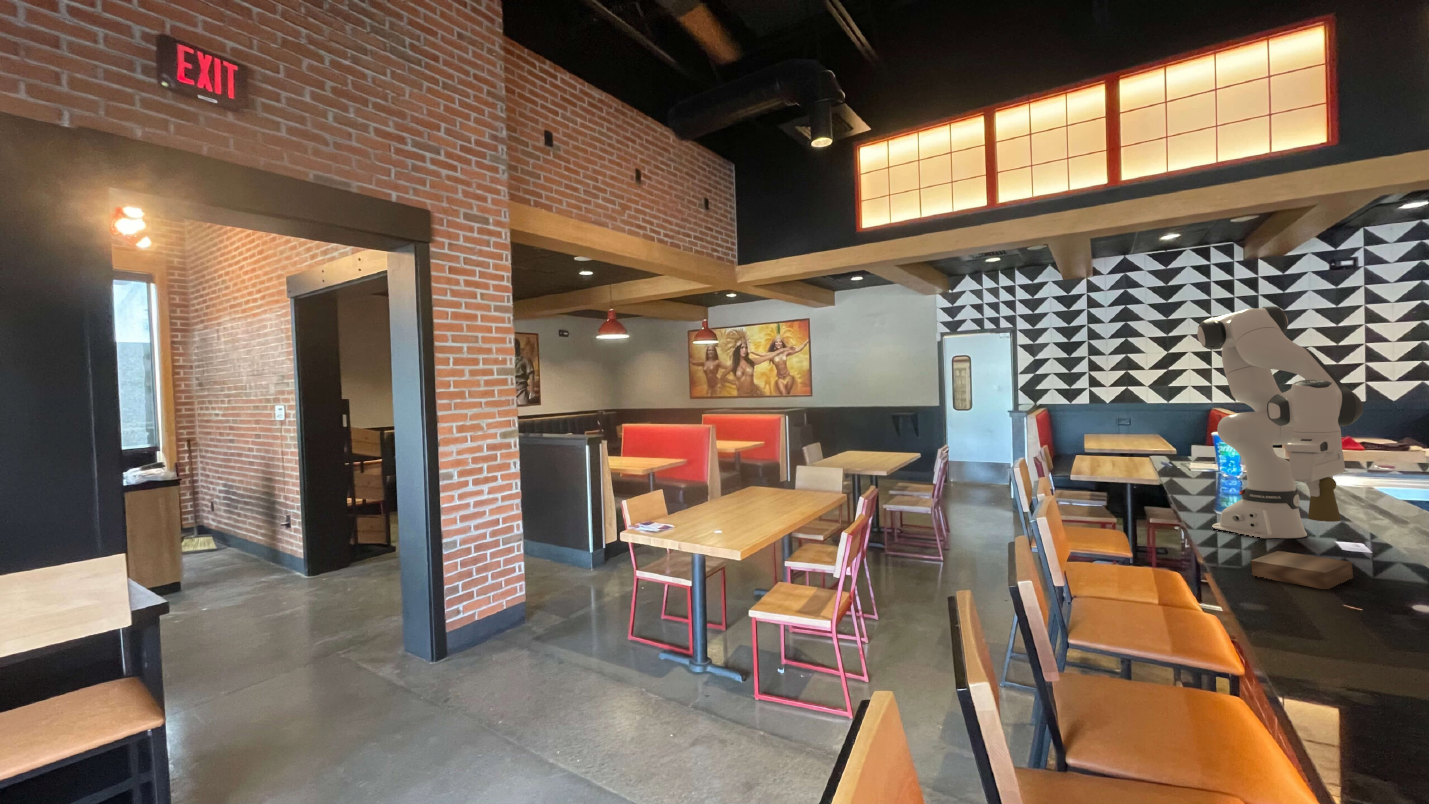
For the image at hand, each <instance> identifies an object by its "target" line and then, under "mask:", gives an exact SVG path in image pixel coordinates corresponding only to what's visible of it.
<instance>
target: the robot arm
mask: <svg viewBox="0 0 1429 804" xmlns="http://www.w3.org/2000/svg"><path fill="white" fill-rule="evenodd" d="M1288 324H1289V320H1288V317H1287V314H1286V313H1285V311H1284V310H1283V309H1282V308H1280V307H1278V306H1275V305H1274V306H1271V305H1270V306H1262V307H1260V308H1247V309H1243V310H1239V311H1238V310H1237V311H1236V312H1231V313H1227V314H1224V315H1220V316H1216V317H1210V318H1208V319H1205V320H1203V321H1201V322H1200V324H1199V325H1198V327H1197V339H1198V341H1199V343H1200V344H1201V345H1202V347H1203V348H1205V349H1206V350H1210V351H1211V350H1221V361H1222V367H1223V371H1224V375H1225V378H1226V381H1227V384H1228V388H1229V390H1230V394H1231V396H1232V397H1233V399H1235V400H1236V401H1237V402H1240V403H1243V404H1245V405H1247V406H1248V407H1250V408H1252V409H1253V411H1248V412H1247V411H1245V412H1238V413H1234V414H1229V415H1226V416H1223V417H1222V418H1221V419H1220V421H1219V422H1218V424H1217V428H1216V429H1217V430H1216V431H1217V435H1218V437H1219V438H1220V440H1221V441H1222V442H1223V443H1224V444H1226V445H1228V446H1230V447H1231V448H1232V449H1234V450H1235V451H1236V452H1237V453H1238V455H1239V456H1240V457H1241V459H1242V461H1243V464H1244V466H1245V471H1246V479H1247V487H1246V488H1244V489H1241V490H1239V491H1238V492H1239V493H1238V495H1239V496H1240V495H1241V499H1240V500H1238V501H1236V502H1235V503H1233V504H1231V505H1229V506H1227V507H1225V508H1224V509H1223V510H1222V511H1221V515H1220V520H1219V522H1216V523H1213V524H1212V525H1211V528H1212V527H1213V528H1215V529H1220V530H1226V531H1231V532H1237V533H1239V534H1238V535H1240V534H1244V535H1243V536H1246V535H1249V536H1248V537H1252V536H1254V537H1253V538H1257V537H1260V538H1259V539H1300V538H1304V537H1307V536H1308V533H1307V532H1306V530H1305V527H1304V525H1303V521H1302V519H1301V513H1300V510H1299V508H1300V503H1301V502H1300V495H1299V490H1298V489H1297V486H1296V485H1297V484H1296V482H1298V483H1299V482H1302V483H1306V486H1307V488H1308V490H1309V491H1308V492H1309V497H1310V496H1315V497H1318V496H1321V489H1320V488H1319V480H1320V479H1323V478H1327V477H1329V478H1332V479H1334V476H1335V475H1339V474H1340V475H1341V474H1342V473H1344V472H1345V469H1346V466H1345V458H1344V452H1343V442H1342V431H1341V430H1342V429H1341V427H1347V426H1351V425H1353V423H1355V422H1356V421H1357V420H1358V419H1359V418H1360V417H1362V415H1363V413H1364V404H1363V402H1362V399H1361V398H1360V397H1359V396H1358V395H1357V394H1356V393H1355V392H1353V391H1352V390H1351V389H1349V388H1348V387H1347V386H1346V385H1344V384H1343V383H1342V382H1341V381H1340V380H1339V378H1337V376H1336V375H1335V374H1334V373H1333V372H1332V371H1331V370H1330V369H1329V368H1328V366H1326V364H1325V363H1324V362H1323V361H1322V360H1321V359H1320V358H1319V357H1318V356H1317V355H1316V354H1315V353H1314V352H1313V351H1312V350H1310V348H1307V347H1304V346H1301V345H1299V344H1297V343H1296V342H1294V341H1292V340H1291V339H1289V338H1288V337H1287V336H1286V335H1285V333H1286V332H1287V331H1288V326H1289V325H1288ZM1272 370H1276V371H1284V372H1288V373H1292V374H1295V375H1297V376H1300V377H1301V378H1303V379H1301V380H1299V381H1295V382H1293V383H1292V384H1291V388H1290V389H1288V390H1286V391H1284V392H1282V391H1281V390H1280V388H1279V386H1278V384H1277V382H1276V379H1275V377H1274V374H1273V372H1272ZM1280 445H1281V446H1282V445H1283V446H1284V445H1285V448H1286V450H1285V451H1287V452H1289V456H1288V459H1289V460H1287V459H1285V458H1283V457H1280V456H1278V455H1277V453H1276V451H1275V450H1274V447H1273V446H1280Z"/></svg>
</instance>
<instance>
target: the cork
mask: <svg viewBox="0 0 1429 804" xmlns="http://www.w3.org/2000/svg"><path fill="white" fill-rule="evenodd" d="M1336 487H1337V481H1336V480H1335V479H1334V478H1333V479H1332V478H1329V477H1327V478H1323V479H1320V480H1319V488H1320V489H1321V496H1318V497H1315V496H1310V495H1309V505H1308V514H1307V519H1308V520H1312V521H1317V522H1329V523H1330V522H1333V523H1334V522H1341V521H1342V518H1341V515H1340V510H1339V506H1338V502H1337V499H1336V498H1337V497H1336V494H1335V492H1334V490H1335V489H1336Z"/></svg>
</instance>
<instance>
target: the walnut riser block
mask: <svg viewBox="0 0 1429 804" xmlns="http://www.w3.org/2000/svg"><path fill="white" fill-rule="evenodd" d="M1250 562H1251V564H1250V565H1251V576H1252V575H1253V576H1252V577H1255V576H1257V578H1260V577H1264V578H1263V579H1266V578H1267V579H1268V580H1271V579H1272V580H1273V581H1278V582H1283V583H1288V584H1293V585H1301V586H1304V587H1305V586H1306V587H1310V588H1315V589H1322V590H1325V589H1328V590H1329V589H1332V588H1334V587H1336V586H1335V585H1337V586H1338V584H1339V585H1341V584H1343V583H1345V582H1348V581H1350V580H1352V579H1353V578H1354V576H1353V574H1354V573H1353V562H1352V561H1348V560H1341V559H1336V558H1335V559H1334V558H1328V557H1322V556H1321V557H1320V556H1314V555H1309V554H1308V555H1307V554H1304V553H1303V554H1301V553H1296V552H1295V553H1294V552H1287V551H1282V550H1275V551H1274V552H1270V553H1268V554H1265V555H1262V556H1260V557H1256V558H1254V559H1251V561H1250ZM1349 579H1350V580H1349ZM1347 580H1348V581H1347ZM1340 583H1341V584H1340Z"/></svg>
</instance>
